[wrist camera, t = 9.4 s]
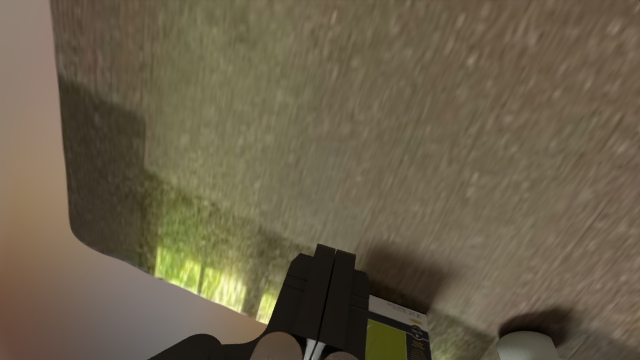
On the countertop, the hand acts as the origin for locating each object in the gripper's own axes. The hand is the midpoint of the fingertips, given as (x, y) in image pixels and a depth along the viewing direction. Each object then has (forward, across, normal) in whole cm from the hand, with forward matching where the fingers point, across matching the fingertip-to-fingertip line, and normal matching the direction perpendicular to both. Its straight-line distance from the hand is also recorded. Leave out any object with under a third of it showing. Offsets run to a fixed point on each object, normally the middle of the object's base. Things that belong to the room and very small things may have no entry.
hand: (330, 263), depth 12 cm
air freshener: (+29, -39, +37) cm, 62 cm away
